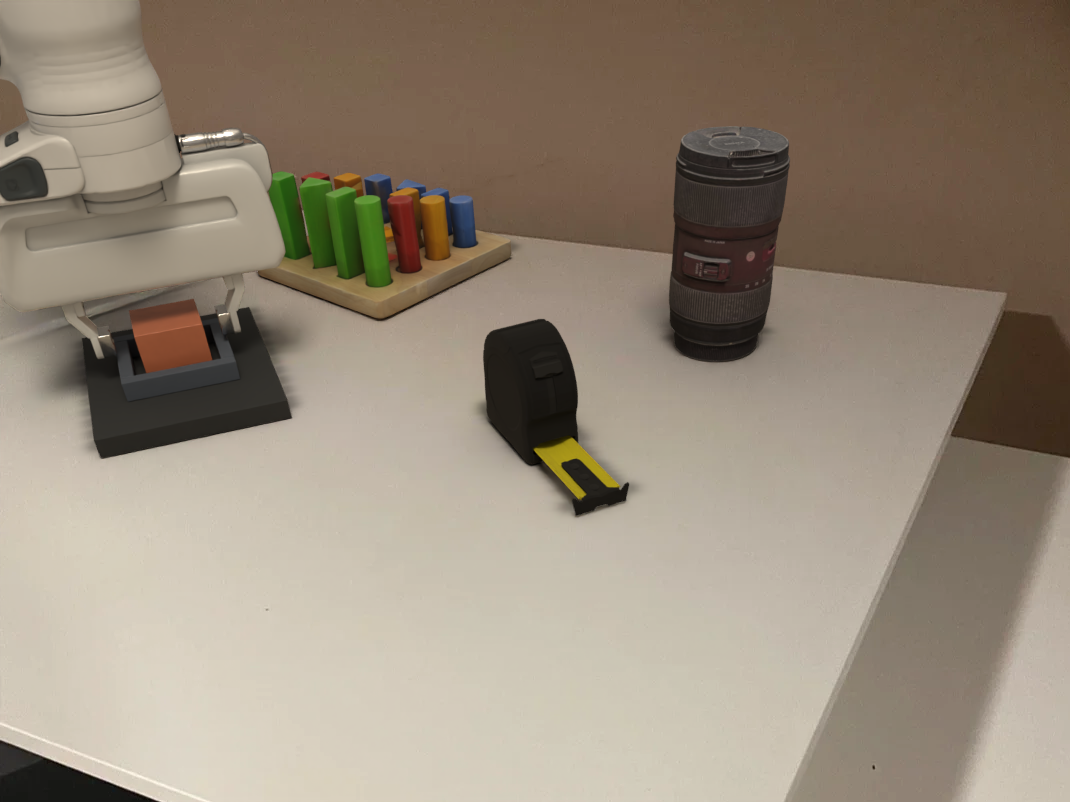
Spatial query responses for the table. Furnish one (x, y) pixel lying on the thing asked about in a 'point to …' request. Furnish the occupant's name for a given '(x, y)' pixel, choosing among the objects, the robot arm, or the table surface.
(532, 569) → the table surface
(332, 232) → the peg board
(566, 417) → the tape measure
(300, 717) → the table surface
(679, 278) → the camera lens
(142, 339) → the orange block
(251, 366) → the black socket base
